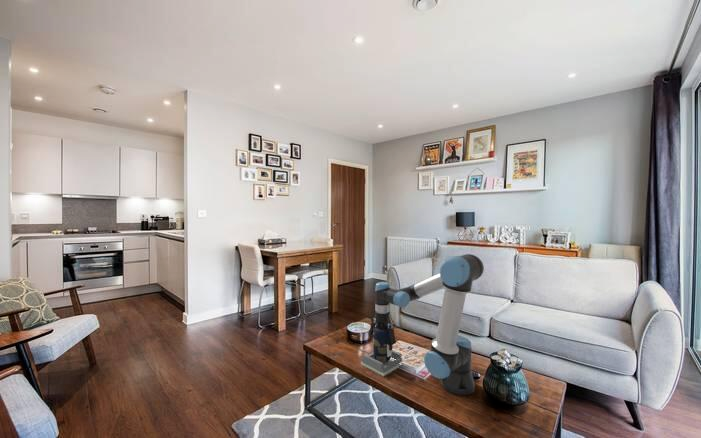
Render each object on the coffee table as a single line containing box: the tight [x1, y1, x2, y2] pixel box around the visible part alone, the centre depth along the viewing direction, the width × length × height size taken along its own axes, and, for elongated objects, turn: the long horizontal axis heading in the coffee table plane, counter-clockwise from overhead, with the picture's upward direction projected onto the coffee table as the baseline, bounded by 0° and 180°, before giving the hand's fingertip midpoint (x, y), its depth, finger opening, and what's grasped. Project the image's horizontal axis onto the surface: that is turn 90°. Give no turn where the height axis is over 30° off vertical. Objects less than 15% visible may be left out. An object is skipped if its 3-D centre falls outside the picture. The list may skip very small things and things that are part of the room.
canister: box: [372, 326, 391, 362], centre depth 157 cm, size 10×10×18 cm
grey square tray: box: [360, 349, 403, 377], centre depth 157 cm, size 16×16×6 cm
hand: (381, 352), depth 157 cm, fingers closed on canister, 9 cm apart
